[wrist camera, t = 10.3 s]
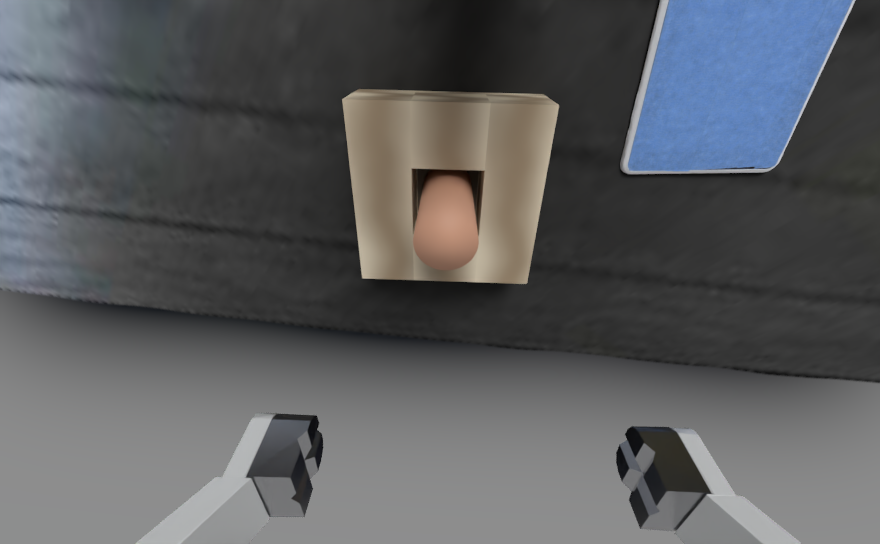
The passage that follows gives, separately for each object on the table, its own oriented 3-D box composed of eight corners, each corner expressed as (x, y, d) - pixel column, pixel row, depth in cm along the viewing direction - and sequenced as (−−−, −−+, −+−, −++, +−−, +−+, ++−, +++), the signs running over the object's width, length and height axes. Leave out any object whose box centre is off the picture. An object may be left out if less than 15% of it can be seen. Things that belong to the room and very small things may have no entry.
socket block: (372, 249, 36) (362, 278, 32) (358, 89, 28) (342, 99, 24) (518, 254, 36) (526, 283, 32) (543, 94, 28) (559, 105, 24)
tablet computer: (766, 169, 31) (778, 174, 30) (614, 172, 32) (620, 177, 31) (922, -173, 21) (948, -184, 20) (691, -161, 21) (704, -171, 20)
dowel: (423, 207, 32) (413, 269, 24) (423, 161, 30) (412, 211, 22) (469, 209, 32) (476, 271, 24) (473, 162, 30) (481, 213, 22)
